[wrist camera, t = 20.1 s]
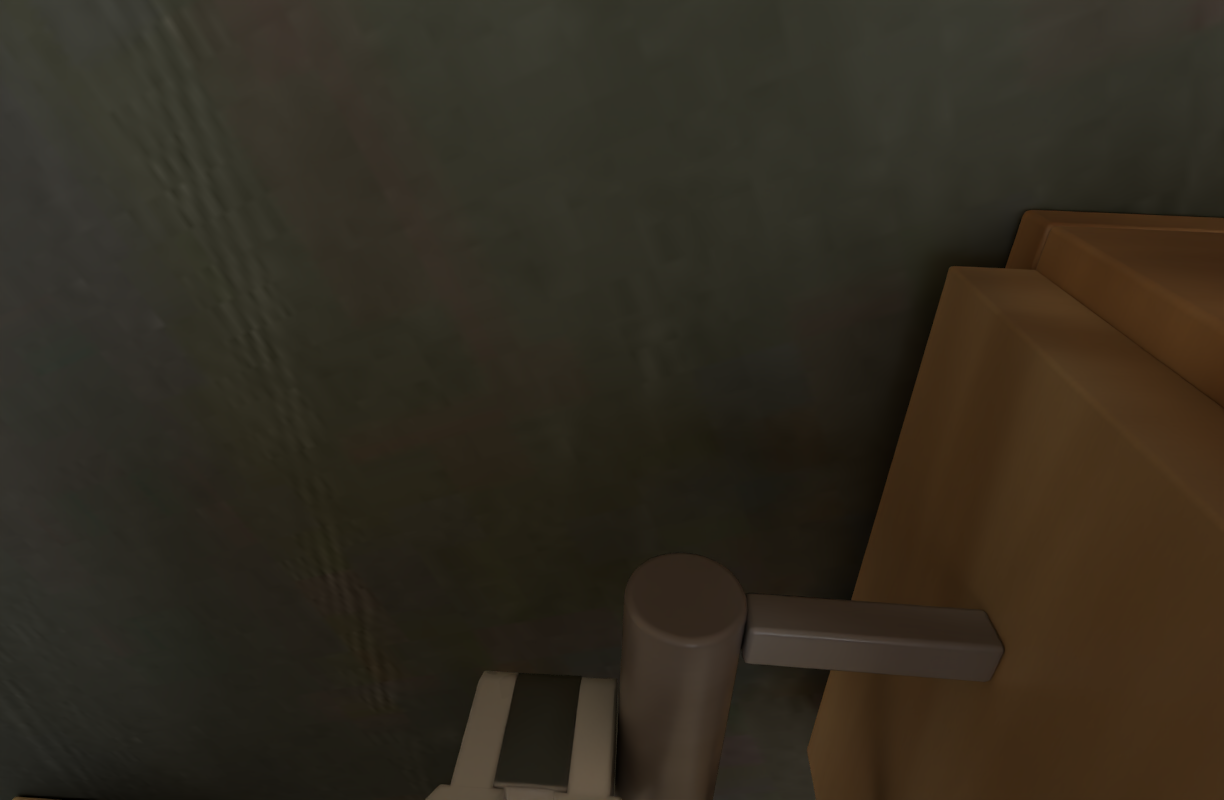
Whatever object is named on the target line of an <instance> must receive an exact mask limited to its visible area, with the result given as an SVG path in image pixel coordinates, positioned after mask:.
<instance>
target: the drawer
mask: <svg viewBox="0 0 1224 800" xmlns="http://www.w3.org/2000/svg"><path fill="white" fill-rule="evenodd" d="M741 649H742V657H743V659H744V661H745V662H746V663H748V664H758V665H771V666H784V667H797V668H810V669H823V670H830V674H829V677H828V680H827V684H826V687H825V690H824V694H823V697H822V701H821V704H820V707H819V711H818V714H817V718H816V721H815V724H814V728H813V731H812V734H811V738H810V741H809V745H808V748H807V753H808V758H809V764H810V769H811V775H812V780H813V785H814V791H815V796H816V800H1224V408H1223V407H1221V406H1220V405H1218V404H1217V403H1216V402H1214V401H1213V400H1212V399H1210V398H1209V397H1208V396H1206V395H1205V394H1204V393H1202V392H1201V391H1199V390H1198V389H1197V388H1195V387H1194V386H1193V385H1191V384H1190V383H1189V382H1187V381H1186V380H1184V379H1183V378H1182V377H1180V376H1179V375H1178V374H1176V373H1175V372H1174V371H1172V370H1171V369H1170V368H1168V367H1167V366H1165V365H1164V364H1163V363H1161V362H1160V361H1159V360H1157V359H1156V358H1155V357H1153V356H1152V355H1151V354H1149V353H1148V352H1146V351H1145V350H1144V349H1142V348H1141V347H1140V346H1138V345H1137V344H1136V343H1134V342H1133V341H1132V340H1130V339H1129V338H1127V337H1126V336H1125V335H1123V334H1122V333H1121V332H1119V331H1118V330H1117V329H1115V328H1114V327H1113V326H1111V325H1110V324H1108V323H1107V322H1106V321H1104V320H1103V319H1102V318H1100V317H1099V316H1098V315H1096V314H1095V313H1093V312H1092V311H1091V310H1089V309H1088V308H1087V307H1085V306H1084V305H1083V304H1081V303H1080V302H1079V301H1077V300H1076V299H1074V298H1073V297H1072V296H1070V295H1069V294H1068V293H1066V292H1065V291H1064V290H1062V289H1061V288H1060V287H1058V286H1057V285H1055V284H1054V283H1053V282H1051V281H1050V280H1049V279H1047V278H1046V277H1045V276H1043V275H1042V274H1041V273H1039V272H1038V271H1036V270H1027V269H1006V268H985V267H964V266H952V267H950V268H949V271H948V274H947V277H946V281H945V284H944V288H943V291H942V294H941V298H940V301H939V304H938V308H937V311H936V315H935V318H934V321H933V325H932V328H931V332H930V335H929V338H928V342H927V345H926V348H925V352H924V355H923V359H922V362H921V365H920V369H919V372H918V376H917V379H916V382H915V386H914V389H913V392H912V396H911V399H910V403H909V406H908V409H907V413H906V416H905V420H904V423H903V426H902V430H901V433H900V437H899V440H898V443H897V447H896V450H895V453H894V457H893V460H892V464H891V467H890V470H889V474H888V477H887V481H886V484H885V487H884V491H883V494H882V497H881V501H880V504H879V508H878V511H877V514H876V518H875V521H874V525H873V528H872V531H871V535H870V538H869V541H868V545H867V548H866V552H865V555H864V558H863V562H862V565H861V569H860V572H859V575H858V579H857V582H856V585H855V589H854V592H853V596H852V599H851V600H842V599H828V598H814V597H800V596H786V595H772V594H758V593H748V594H746V595H745V593H744V591H743V588H742V586H741V584H740V582H739V581H738V580H737V578H736V577H735V576H734V575H733V574H732V573H731V572H730V571H729V570H728V569H727V568H726V567H724V566H723V565H721V564H720V563H718V562H716V561H714V560H712V559H709V558H707V557H704V556H701V555H697V554H692V553H668V554H663V555H659V556H656V557H653V558H651V559H649V560H647V561H645V562H644V563H643V564H641V565H640V566H639V567H638V568H637V569H636V570H635V571H634V573H633V574H632V575H631V577H630V578H629V580H628V582H627V585H626V588H625V593H624V611H623V631H622V652H621V672H620V692H619V713H618V733H617V754H616V774H615V795H614V796H615V797H621V798H622V800H713V796H714V790H715V785H716V779H717V774H718V769H719V763H720V758H721V752H722V747H723V742H724V736H725V731H726V725H727V720H728V715H729V709H730V704H731V698H732V693H733V688H734V682H735V677H736V671H737V666H738V661H739V655H740V650H741Z"/></svg>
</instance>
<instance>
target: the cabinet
mask: <svg viewBox="0 0 1224 800" xmlns="http://www.w3.org/2000/svg"><path fill="white" fill-rule="evenodd" d="M1005 268H1006V269H1027V270H1036V271H1038V272H1039V273H1041V274H1042V275H1043V276H1045V277H1046V278H1047V279H1049V280H1050V281H1051V282H1053V283H1054V284H1055V285H1057V286H1058V287H1060V288H1061V289H1062V290H1064V291H1065V292H1066V293H1068V294H1069V295H1070V296H1072V297H1073V298H1074V299H1076V300H1077V301H1079V302H1080V303H1081V304H1083V305H1084V306H1085V307H1087V308H1088V309H1089V310H1091V311H1092V312H1093V313H1095V314H1096V315H1098V316H1099V317H1100V318H1102V319H1103V320H1104V321H1106V322H1107V323H1108V324H1110V325H1111V326H1113V327H1114V328H1115V329H1117V330H1118V331H1119V332H1121V333H1122V334H1123V335H1125V336H1126V337H1127V338H1129V339H1130V340H1132V341H1133V342H1134V343H1136V344H1137V345H1138V346H1140V347H1141V348H1142V349H1144V350H1145V351H1146V352H1148V353H1149V354H1151V355H1152V356H1153V357H1155V358H1156V359H1157V360H1159V361H1160V362H1161V363H1163V364H1164V365H1165V366H1167V367H1168V368H1170V369H1171V370H1172V371H1174V372H1175V373H1176V374H1178V375H1179V376H1180V377H1182V378H1183V379H1184V380H1186V381H1187V382H1189V383H1190V384H1191V385H1193V386H1194V387H1195V388H1197V389H1198V390H1199V391H1201V392H1202V393H1204V394H1205V395H1206V396H1208V397H1209V398H1210V399H1212V400H1213V401H1214V402H1216V403H1217V404H1218V405H1220V406H1221V407H1223V408H1224V218H1211V217H1188V216H1165V215H1142V214H1119V213H1096V212H1073V211H1050V210H1029V211H1026V212H1025V213H1024V214H1023V217H1022V220H1021V223H1020V226H1019V228H1018V231H1017V234H1016V237H1015V240H1014V243H1013V246H1012V249H1011V252H1010V255H1009V258H1008V261H1007V264H1006V267H1005Z"/></svg>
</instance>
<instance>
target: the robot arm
mask: <svg viewBox="0 0 1224 800" xmlns="http://www.w3.org/2000/svg"><path fill="white" fill-rule="evenodd" d="M617 684H618V683H617V679H612V678H588V677H582V676H573V675H551V674H529V673H515V672H499V671H484V672H483V674H482V676H481V678H480V680H479V682H478V685H477V689H476V693H475V696H474V700H473V704H472V707H471V711H470V715H469V718H468V722H467V726H466V729H465V733H464V737H463V740H462V744H461V748H460V751H459V755H458V759H457V762H456V766H455V770H454V773H453V777H452V781H451V784H450V785H446V784H439V786H438V787H437V788H436V789H435V790H434V791H433V792H432V793H431V794H430V795H429V796H428V797H427V798H426V799H425V800H622V798H621V797H615V796H613V794H614V777H615V754H616V720H617Z"/></svg>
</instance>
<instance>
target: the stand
mask: <svg viewBox="0 0 1224 800" xmlns="http://www.w3.org/2000/svg"><path fill="white" fill-rule="evenodd" d="M13 800H60V799H45V798H29V797H15V798H14V799H13Z"/></svg>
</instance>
